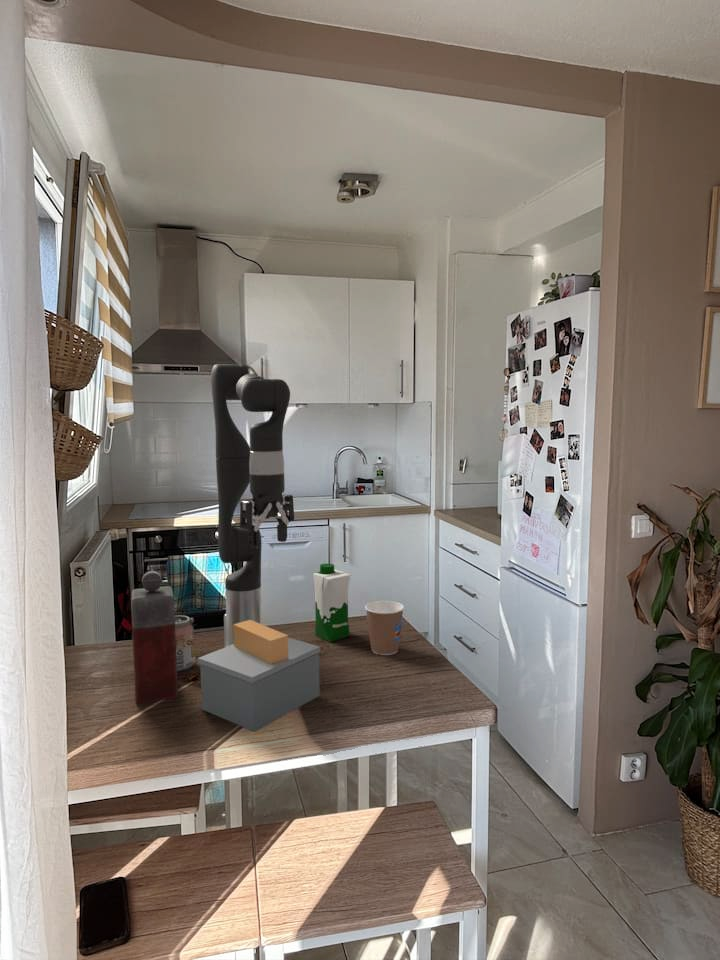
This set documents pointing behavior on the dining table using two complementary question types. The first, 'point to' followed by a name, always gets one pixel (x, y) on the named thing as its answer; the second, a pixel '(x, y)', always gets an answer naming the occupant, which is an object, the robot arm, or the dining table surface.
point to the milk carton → (331, 603)
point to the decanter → (154, 640)
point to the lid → (255, 661)
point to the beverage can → (184, 642)
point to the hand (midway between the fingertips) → (268, 544)
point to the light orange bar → (261, 641)
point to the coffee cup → (384, 626)
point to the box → (259, 693)
